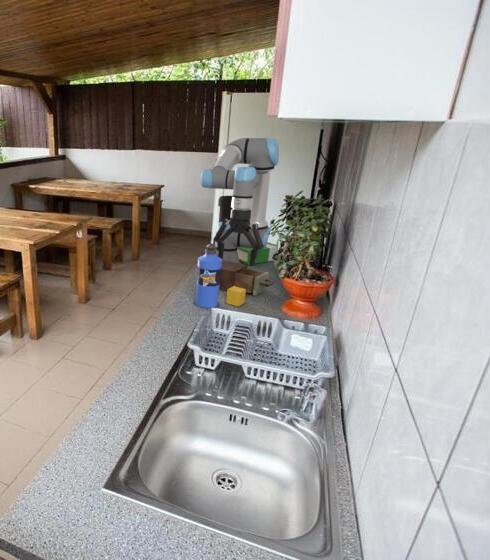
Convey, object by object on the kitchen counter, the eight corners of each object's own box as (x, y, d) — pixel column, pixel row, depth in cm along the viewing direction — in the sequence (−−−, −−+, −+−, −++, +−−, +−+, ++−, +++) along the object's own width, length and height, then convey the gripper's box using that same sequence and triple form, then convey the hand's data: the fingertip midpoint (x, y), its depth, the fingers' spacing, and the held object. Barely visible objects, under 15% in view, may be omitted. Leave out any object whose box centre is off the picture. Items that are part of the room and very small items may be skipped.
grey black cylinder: (226, 240, 278) (230, 194, 269) (245, 246, 265) (250, 197, 255) (207, 243, 271) (210, 196, 261) (225, 249, 257) (229, 199, 247)
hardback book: (226, 243, 238) (257, 239, 249) (225, 255, 240) (256, 251, 251) (249, 251, 223) (281, 246, 234) (247, 264, 226) (279, 259, 237)
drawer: (275, 291, 186) (278, 274, 183) (265, 298, 178) (267, 280, 175) (238, 282, 197) (240, 266, 194) (226, 288, 189) (228, 271, 186)
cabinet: (245, 285, 196) (247, 265, 192) (232, 292, 187) (234, 271, 183) (217, 278, 205) (218, 259, 201) (203, 284, 196) (205, 264, 192)
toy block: (232, 299, 178) (233, 286, 176) (244, 302, 175) (246, 289, 173) (226, 303, 174) (227, 289, 172) (238, 306, 171) (239, 292, 169)
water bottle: (195, 298, 179) (199, 240, 171) (218, 300, 177) (223, 242, 169) (194, 306, 170) (198, 246, 162) (217, 309, 168) (223, 247, 160)
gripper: (207, 206, 167) (203, 258, 174) (268, 213, 151) (261, 270, 158) (217, 204, 172) (212, 254, 179) (277, 211, 157) (270, 266, 164)
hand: (235, 262), depth 169 cm, fingers open, 13 cm apart
